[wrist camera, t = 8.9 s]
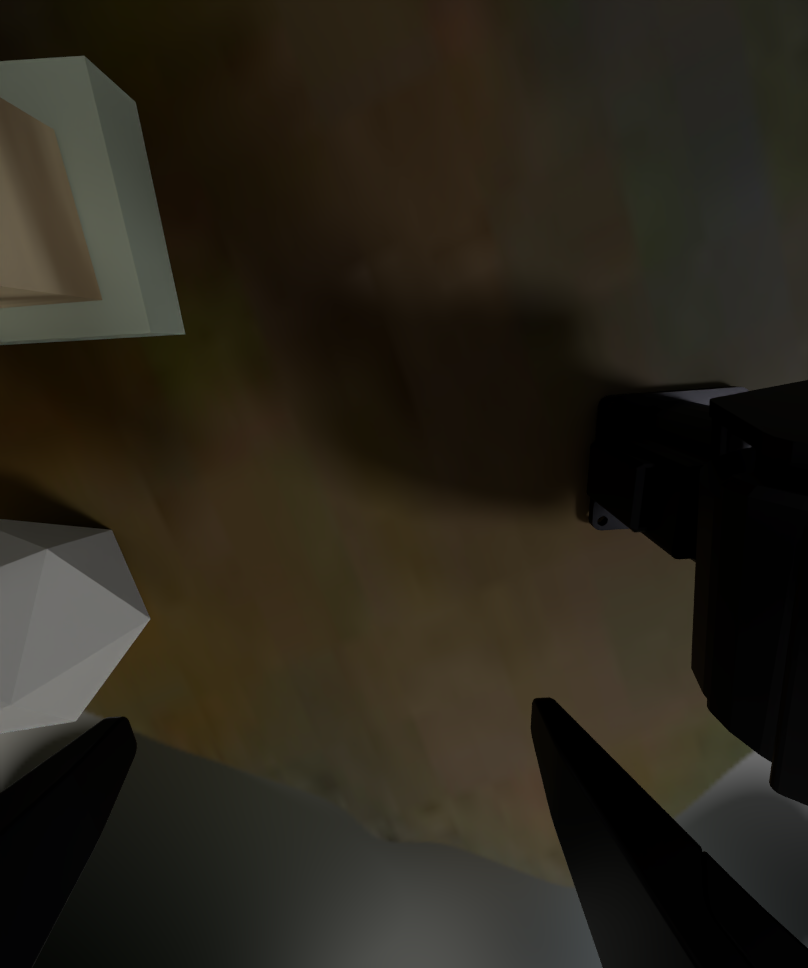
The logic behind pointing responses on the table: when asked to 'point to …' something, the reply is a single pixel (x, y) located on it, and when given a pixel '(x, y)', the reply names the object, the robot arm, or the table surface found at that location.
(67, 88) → the foundation slab
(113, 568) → the die
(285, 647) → the table surface
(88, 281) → the maple cube
